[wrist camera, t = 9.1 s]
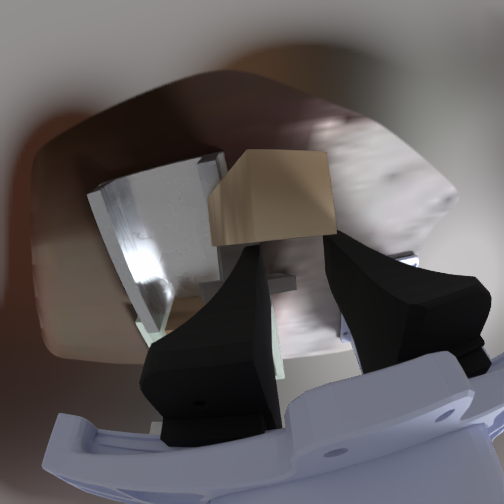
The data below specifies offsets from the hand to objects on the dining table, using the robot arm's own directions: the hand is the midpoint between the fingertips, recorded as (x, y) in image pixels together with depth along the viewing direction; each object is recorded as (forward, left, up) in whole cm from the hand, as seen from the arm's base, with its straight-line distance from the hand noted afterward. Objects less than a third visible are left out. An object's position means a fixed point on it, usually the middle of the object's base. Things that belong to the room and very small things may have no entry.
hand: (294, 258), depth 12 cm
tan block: (-2, +3, -6) cm, 7 cm away
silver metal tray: (-3, +8, -10) cm, 13 cm away
